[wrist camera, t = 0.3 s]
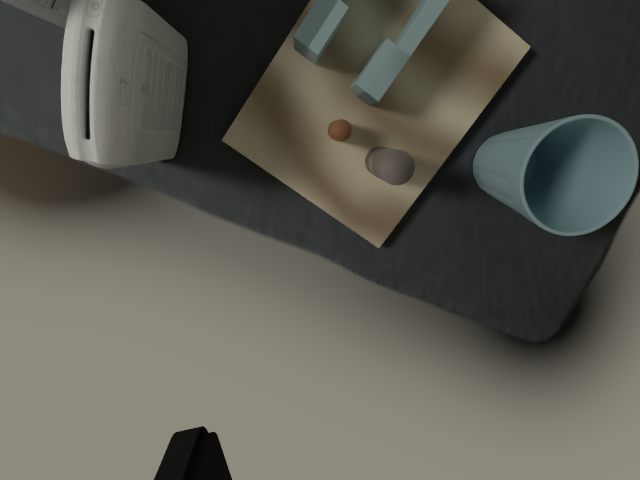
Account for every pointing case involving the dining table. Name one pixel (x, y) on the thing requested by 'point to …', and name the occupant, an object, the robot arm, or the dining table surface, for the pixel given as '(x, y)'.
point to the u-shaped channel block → (386, 57)
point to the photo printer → (121, 83)
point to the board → (374, 110)
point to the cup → (561, 172)
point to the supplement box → (45, 9)
